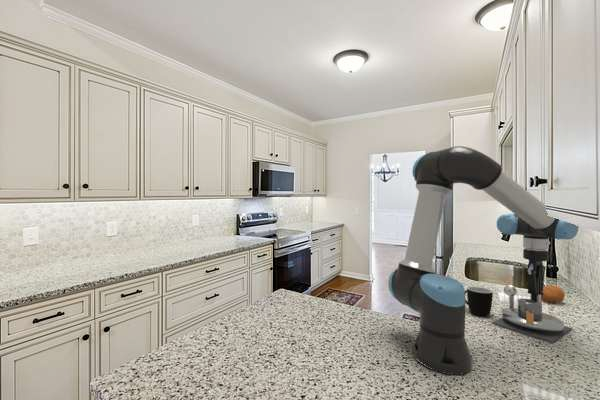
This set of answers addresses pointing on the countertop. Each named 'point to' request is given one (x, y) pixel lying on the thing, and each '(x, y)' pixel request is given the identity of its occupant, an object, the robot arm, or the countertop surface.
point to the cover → (530, 308)
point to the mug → (479, 301)
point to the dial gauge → (510, 294)
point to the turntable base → (533, 331)
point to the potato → (552, 294)
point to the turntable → (546, 324)
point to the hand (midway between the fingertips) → (535, 311)
